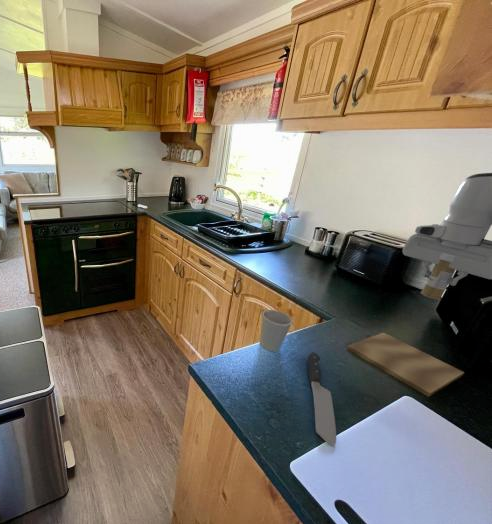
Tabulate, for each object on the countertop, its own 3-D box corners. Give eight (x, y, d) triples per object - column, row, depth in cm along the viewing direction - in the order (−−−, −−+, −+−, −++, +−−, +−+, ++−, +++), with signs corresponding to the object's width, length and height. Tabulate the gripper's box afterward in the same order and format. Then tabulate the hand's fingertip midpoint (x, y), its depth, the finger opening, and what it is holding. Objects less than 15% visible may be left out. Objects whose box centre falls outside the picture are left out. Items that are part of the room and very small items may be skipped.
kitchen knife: (345, 449, 56) (319, 433, 57) (337, 456, 57) (312, 440, 58) (327, 358, 81) (309, 348, 82) (322, 364, 82) (304, 354, 83)
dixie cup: (290, 352, 85) (299, 323, 81) (267, 356, 82) (275, 326, 79) (271, 335, 92) (278, 308, 89) (249, 338, 90) (256, 310, 86)
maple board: (462, 375, 80) (464, 372, 80) (428, 397, 72) (430, 393, 71) (381, 335, 97) (383, 332, 96) (346, 348, 88) (347, 345, 88)
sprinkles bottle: (418, 291, 88) (437, 249, 83) (437, 295, 86) (458, 253, 81) (423, 297, 84) (444, 254, 79) (444, 301, 82) (466, 257, 77)
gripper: (522, 245, 71) (494, 295, 76) (420, 224, 88) (402, 266, 93) (513, 247, 68) (484, 298, 73) (410, 225, 85) (392, 268, 90)
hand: (438, 280), depth 83 cm, fingers closed on sprinkles bottle, 4 cm apart
